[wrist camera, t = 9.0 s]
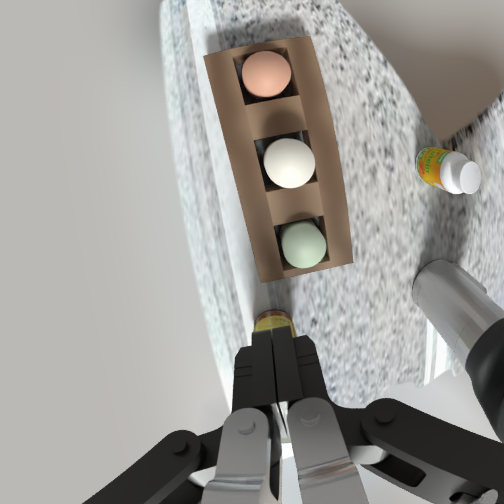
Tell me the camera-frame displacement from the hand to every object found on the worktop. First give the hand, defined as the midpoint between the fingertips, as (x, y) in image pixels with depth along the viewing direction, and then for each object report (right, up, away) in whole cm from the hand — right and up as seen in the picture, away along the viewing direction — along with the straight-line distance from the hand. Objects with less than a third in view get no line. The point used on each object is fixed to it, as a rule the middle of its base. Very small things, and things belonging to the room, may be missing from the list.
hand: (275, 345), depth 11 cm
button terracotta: (+1, +24, +19) cm, 30 cm away
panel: (+3, +15, +23) cm, 28 cm away
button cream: (+3, +14, +21) cm, 25 cm away
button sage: (+5, +6, +26) cm, 27 cm away
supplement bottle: (+24, +16, +23) cm, 37 cm away
